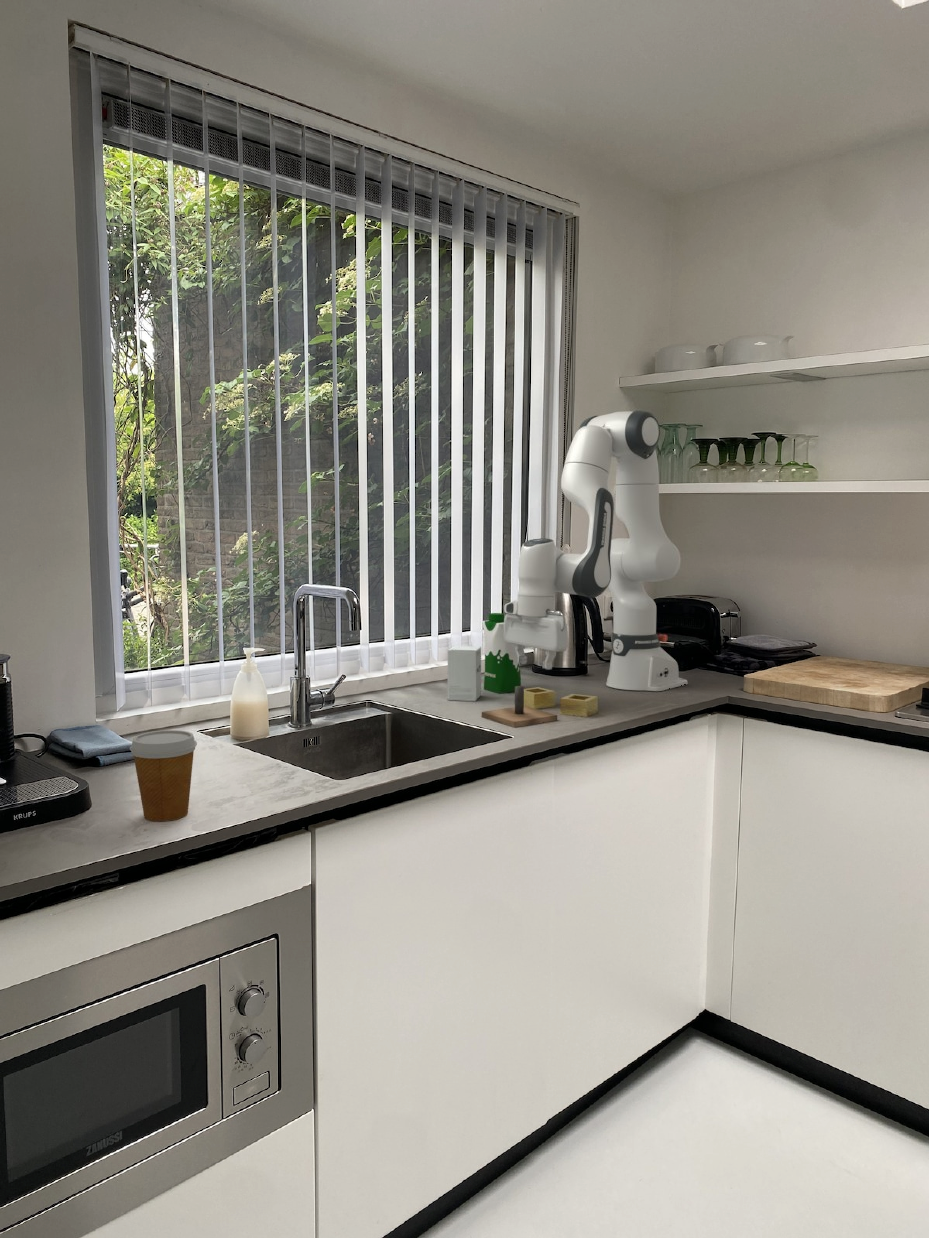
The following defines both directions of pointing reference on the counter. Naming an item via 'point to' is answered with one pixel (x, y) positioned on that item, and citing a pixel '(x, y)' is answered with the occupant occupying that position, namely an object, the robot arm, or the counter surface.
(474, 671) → the supplement box
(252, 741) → the counter surface
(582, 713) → the link
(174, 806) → the disposable coffee cup
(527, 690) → the link
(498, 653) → the milk carton
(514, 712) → the stand
